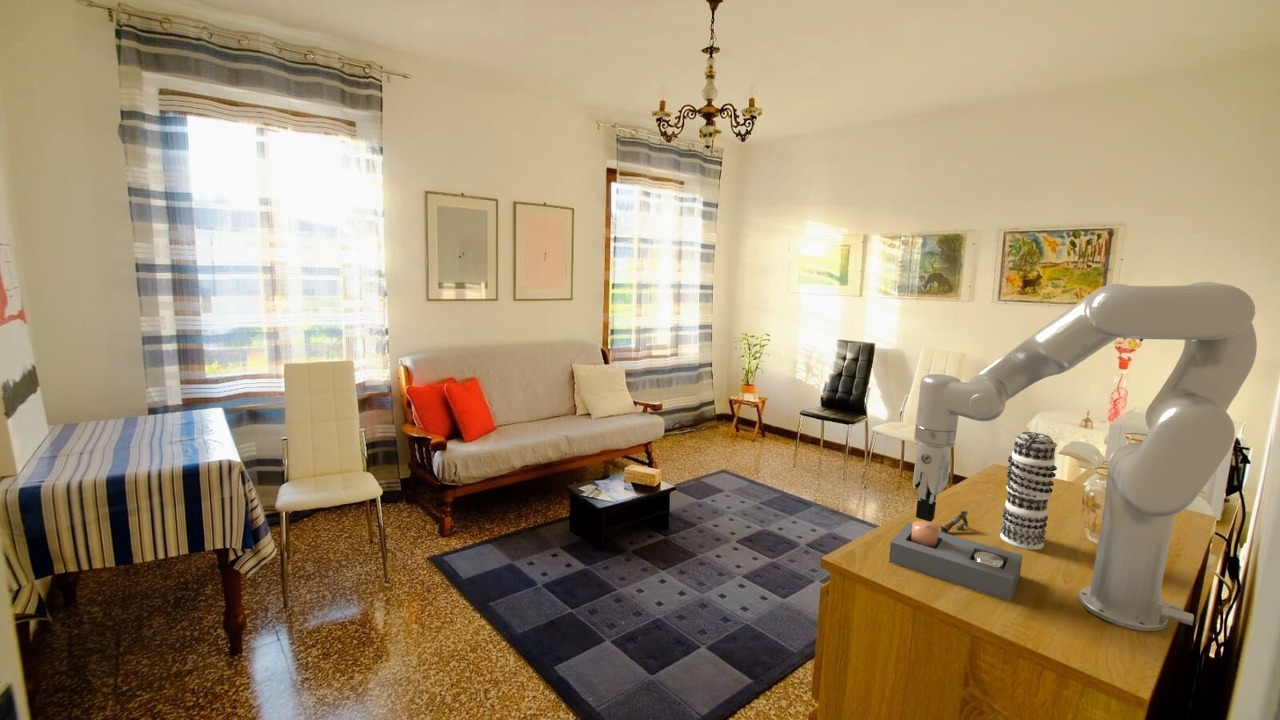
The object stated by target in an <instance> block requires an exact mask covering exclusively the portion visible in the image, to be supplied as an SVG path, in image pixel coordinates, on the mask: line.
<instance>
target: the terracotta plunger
mask: <svg viewBox="0 0 1280 720" xmlns="http://www.w3.org/2000/svg"><path fill="white" fill-rule="evenodd" d="M911 524H912V534H911V542H914V543H917V544H920V545H924V546H927V547H930V548H934V549H935V548H937V540H938V531H939V530H940V528H939V526H938V525H937V524H935V523H933V522H929V521H926V520H916V521H913V522H912V523H911ZM939 532H940V531H939Z"/></svg>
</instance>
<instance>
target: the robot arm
mask: <svg viewBox="0 0 1280 720" xmlns="http://www.w3.org/2000/svg"><path fill="white" fill-rule="evenodd" d="M1255 315H1256V305H1255V302H1254V300H1253V299H1252V297H1251V296H1250V295H1249V294H1248V293H1247V292H1246V291H1244V290H1243V289H1241V288H1239V287H1236V286H1234V285H1230V284H1227V283H1226V284H1225V283H1218V282H1212V281H1200V282H1194V283H1191V284H1187V285H1151V286H1150V285H1147V286H1146V285H1127V284H1123V283H1112V284H1111V283H1110V284H1107V285H1104V286H1100V287H1099V288H1097V289H1095V290H1094V291H1092V292H1090V293H1089V294H1088V295H1087V296H1086V297H1084V298H1083V299H1081V300H1080V301H1078V302H1077V303H1075V304H1074V305H1072V306H1071V307H1069V309H1067V310H1066V311H1064V312H1063V313H1062V314H1060V315H1059V316H1057V317H1056V318H1055V319H1053V320H1052V321H1050V322H1049V323H1047V324H1046V325H1045V326H1044V327H1042V328H1041V329H1039V330H1038V331H1036V332H1034V334H1031V335H1030V336H1029V337H1027V338H1026V339H1025V340H1023V341H1022V342H1021V343H1020V344H1018V345H1017V346H1016V347H1015V348H1013V349H1012V350H1010V351H1009V352H1007V353H1006V354H1004V355H1003V356H1002V357H1000V358H999V359H997V360H995V361H994V362H993V363H992V364H990V365H988V366H987V367H986V368H985V369H983V370H982V371H980V372H979V373H977V374H976V375H974V377H972V378H971V379H970V380H969V381H967V382H963V381H961V379H959V378H958V377H955V376H952V375H946V374H941V373H940V374H939V373H938V374H937V373H936V374H935V373H929V374H926V375H924V376H923V377H922V378H921V380H920V385H919V391H918V392H919V393H918V400H917V401H918V402H917V409H916V411H917V412H916V419H915V427H914V434H913V435H914V436H913V437H914V438H913V439H914V440H913V441H915V442H916V443H918V445H917V451H916V456H915V463H914V469H913V470H914V471H913V476H912V478H913V480H912V487H913V489H914V490H918V493H917V494H918V495H917V503H916V510H915V511H916V512H915V517H916V519H919V520H921V521H926V522H930V523H932V521H933V520H934V519H935V514H936V506H937V501H936V500H937V496H938V495H939V494H940V493H941V492H942V491H943V490H944V489H945V487H946V486H947V485H948V483H949V480H950V479H949V478H950V468H951V467H950V466H951V454H952V453H951V450H952V448H953V447H954V446H955V445H956V437H957V429H958V421H959V417H963V418H966V419H969V420H973V421H978V422H989V421H994V420H996V419H998V418H999V417H1000V416H1001V415H1002V414H1003V412H1004V411H1005V409H1006V408H1005V407H1006V403H1007V402H1008V401H1009V400H1010V399H1012V398H1013V397H1015V396H1016V395H1018V394H1019V393H1021V392H1022V391H1024V390H1026V389H1027V388H1028V387H1030V386H1033V384H1035V383H1037V382H1039V381H1041V380H1044V379H1045V378H1049V377H1052V376H1056V375H1062V374H1063V373H1065V372H1067V371H1070V370H1072V369H1073V368H1075V367H1076V366H1078V365H1079V364H1080V363H1082V362H1083V361H1085V360H1086V359H1089V357H1091V356H1093V355H1094V354H1095V353H1096V352H1098V351H1100V350H1101V349H1103V348H1104V347H1106V346H1107V345H1110V344H1111V343H1112V342H1114V341H1116V339H1117V340H1118V338H1120V339H1138V340H1181V341H1183V340H1184V344H1183V345H1184V346H1183V350H1182V352H1181V355H1180V357H1179V359H1178V360H1177V363H1176V364H1175V367H1174V368H1173V370H1172V371H1171V373H1170V374H1169V376H1168V378H1167V379H1166V380H1165V382H1164V383H1163V385H1162V387H1161V389H1160V390H1159V391H1158V393H1157V394H1156V395H1155V396H1154V399H1153V400H1152V401H1151V403H1150V404H1149V405H1148V407H1147V409H1146V412H1145V422H1146V426H1147V427H1148V430H1149V431H1148V432H1147V433H1146V436H1145V437H1144V439H1143V441H1137V442H1136V441H1134V442H1130V443H1129V442H1128V443H1127V444H1124V445H1122V446H1121V447H1119V448H1118V449H1116V451H1115V452H1114V453H1113V454H1112V456H1110V459H1109V463H1108V466H1107V472H1106V484H1105V486H1106V487H1105V496H1104V497H1105V498H1104V504H1103V511H1102V518H1101V523H1100V529H1099V534H1098V540H1097V546H1096V547H1097V548H1096V551H1095V552H1096V553H1095V559H1094V566H1093V571H1092V577H1091V584H1090V586H1086V587H1083V588H1082V589H1080V591H1078V601H1079V602H1080V604H1081V605H1082V606H1083V608H1084V609H1086V610H1087V611H1089V612H1090V613H1091V614H1093V615H1095V616H1096V617H1098V618H1100V619H1103V620H1104V621H1106V622H1110V623H1111V624H1114V625H1116V626H1120V627H1122V628H1126V629H1131V630H1136V631H1142V632H1159V631H1162V630H1164V629H1165V628H1166V627H1167V625H1168V619H1171V620H1174V621H1177V622H1179V623H1182V624H1185V625H1189V626H1193V625H1194V618H1195V616H1194V614H1193V613H1190V612H1188V611H1184V606H1182V605H1178V604H1175V603H1170V602H1166V599H1163V597H1162V596H1163V593H1162V591H1161V590H1162V586H1163V581H1164V574H1165V570H1166V564H1167V558H1168V554H1169V553H1168V552H1169V547H1170V543H1171V540H1172V534H1173V529H1174V524H1175V523H1174V522H1175V515H1177V514H1179V513H1181V512H1183V511H1184V510H1185V509H1187V508H1188V507H1189V506H1190V505H1192V503H1193V502H1194V501H1195V500H1196V498H1197V497H1198V495H1200V493H1201V492H1202V490H1203V489H1204V488H1205V486H1206V485H1207V483H1208V482H1209V481H1210V479H1211V478H1212V477H1213V475H1214V474H1215V472H1216V471H1217V469H1218V468H1219V467H1220V465H1221V464H1222V462H1223V461H1224V460H1225V458H1226V457H1227V455H1228V454H1229V452H1230V450H1231V447H1232V445H1233V443H1234V441H1235V440H1234V439H1235V434H1236V430H1235V423H1234V422H1233V419H1232V418H1231V416H1230V415H1229V413H1228V412H1227V410H1228V409H1229V407H1230V406H1231V404H1232V402H1234V401H1233V400H1234V399H1235V397H1236V396H1237V395H1238V394H1239V391H1240V389H1241V387H1242V386H1243V385H1244V383H1245V381H1246V380H1247V378H1248V376H1249V374H1250V372H1251V370H1252V368H1253V365H1254V364H1255V360H1256V357H1257V349H1258V346H1257V344H1258V343H1257V335H1256V331H1255V328H1254V327H1255V326H1254V324H1253V320H1254V319H1255Z"/></svg>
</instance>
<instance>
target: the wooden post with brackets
mask: <svg viewBox="0 0 1280 720" xmlns="http://www.w3.org/2000/svg"><path fill="white" fill-rule="evenodd" d="M968 514H969V512H968V510H961V511H960V513H959V514H958V515H957V516H955V517H953V519H951V520H950V522H948V523H947V524H945V525H941V524H940V530H941V531H940V532H942V533H946V534H949V535H950V530H951V529H952V528H953V526H956V530H957V531H958V530H959V531H961V530H962V529H965V528H964V527H969V521H968V518H967V516H968ZM961 520H962V521H963V523H960V522H961Z"/></svg>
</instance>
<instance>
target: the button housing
mask: <svg viewBox="0 0 1280 720" xmlns="http://www.w3.org/2000/svg"><path fill="white" fill-rule="evenodd" d="M912 524H913V523H911V522H910V523H909V522H907V523H906V524H905V525H904V526H903V527H902V528H901V529H900V531H898V533H897V534H896V535H895V537H894V538H893V539H892V540H891V541H890V544H889V546H890V547H889V556H888V562H889V563H890V562H892V563H891V564H894V563H895V564H894V565H897V564H898V565H897V566H900V565H901V566H900V567H903V566H904V567H903V568H906V567H907V568H906V569H909V568H910V569H909V570H912V569H913V570H912V571H915V570H916V571H915V572H919V573H922V574H925V575H928V576H931V577H934V578H936V579H938V580H939V579H940V580H944V581H946V582H948V583H949V582H950V583H952V584H955V585H959V586H960V587H965V588H967V589H970V590H973V591H976V592H980V593H983V594H986V595H988V596H992V597H995V598H998V599H1001V600H1005V601H1008V602H1011V601H1012V598H1013V596H1014V594H1015V590H1016V588H1017V584H1018V581H1019V580H1018V579H1020V577H1021V570H1022V563H1023V558H1024V557H1023V556H1024V555H1023V554H1019V553H1016V552H1013V551H1009V550H1006V549H1002V548H999V547H996V546H995V547H994V546H992V545H988V544H984V543H981V542H977V541H973V540H970V539H967V538H963V537H960V536H956V535H952V534H950V533H949V534H947V533H945V532H943V531H938V540H937V548H935V549H934V548H930V547H927V546H924V545H920V544H917V543H914V542H911V534H912ZM977 552H987V553H991V554H994V555H997V556H999V557H1000V558H1002V559H1003V569H1000V568H997V567H994V566H990V565H987V564H984V563H980V562H977V561H974V555H975V553H977Z"/></svg>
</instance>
